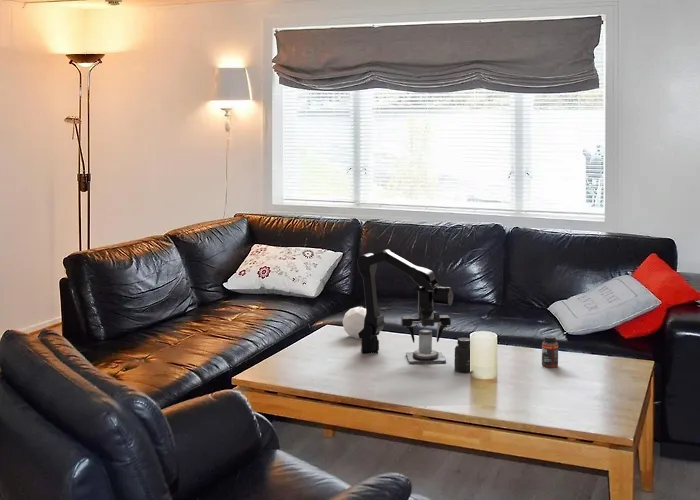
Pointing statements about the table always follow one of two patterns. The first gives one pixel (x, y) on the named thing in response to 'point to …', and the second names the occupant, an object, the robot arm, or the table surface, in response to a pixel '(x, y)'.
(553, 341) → the supplement bottle
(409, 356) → the base
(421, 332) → the knob
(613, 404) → the table surface
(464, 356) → the supplement bottle
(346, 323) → the geodesic sphere
